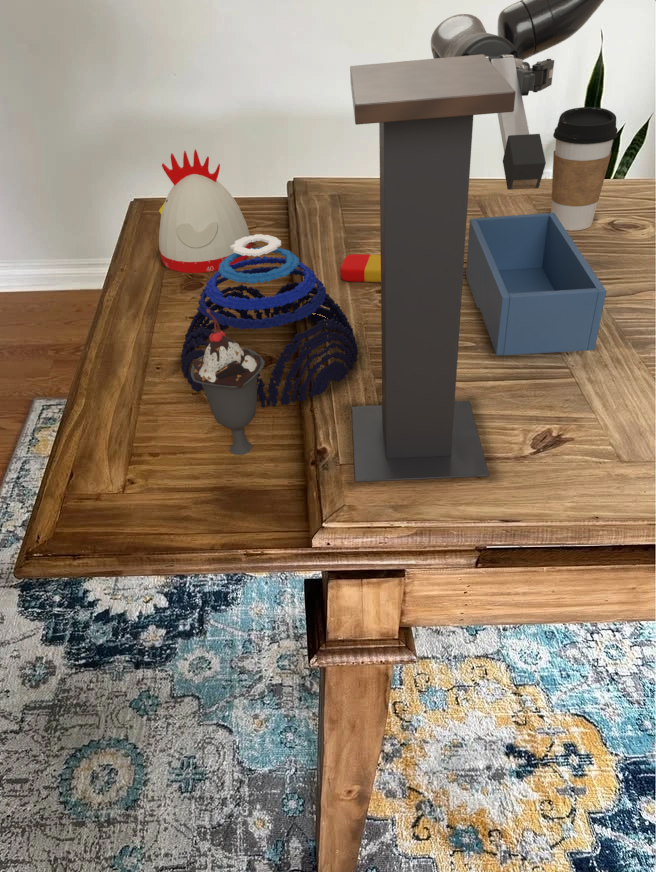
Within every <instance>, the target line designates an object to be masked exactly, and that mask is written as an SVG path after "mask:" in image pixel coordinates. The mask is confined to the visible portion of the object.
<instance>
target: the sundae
mask: <svg viewBox="0 0 656 872" xmlns="http://www.w3.org/2000/svg"><path fill="white" fill-rule="evenodd" d="M206 311H207V313H208V314H209V315H210V316H211V317H212V318H213V320H214V326H215V329H213V330H214V333H212V334H211V335H210V336H209V338H208V340H209V341H210V342H209V343H210V344H209V345H208V346H206V348H205V350H204V351H205V355H204V356H201V357H199V358H198V359H195V360H194V359H193V360H192V362H191V363H192V364H191V368H190V370H191V377H192V379H193V381H195V382H197V383H201V384H202V386H203V388H204V390H203V391H204V394H205V396H206V399H207V402H208V405H209V408H210V411H211V412H212V415H213V418H214V420H215V421H216V423H217V424H219V425H221V426H222V427H224V428H226V429H229V430H231V434H232V444H231V446H230V447H229V452H230V453H231V454H233V455H237V456H244V455H247V454H248V453H250V452H251V450H252V448H253V444H252V443H250V442H249V441H248V439H247V437H246V432H245V427H247V426H248V425H249V424H250V423H251V422H252V421H253V419H254V418H255V417H256V414H257V405H258V395H257V389H258V382H257V378H259V377H258V373H259V374H260V372H261V371H262V370H263V369H264V367H265V360H264V359H263V357H262V356H261V355H260V354H259V353H257V352H256V351H254V350H253V349H250V348H249V347H243V346H240V344H239V343H238V342H237V341H236V342H235V339H232V338H230V337H227V336H226V333H225V332H224V330H223V331H222V330H220V327H219V324H218V322H217V320H216V319H215V318H214V317H213V316H212V315H211V313H210V309H206ZM216 324H217V327H218V328H216Z"/></svg>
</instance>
